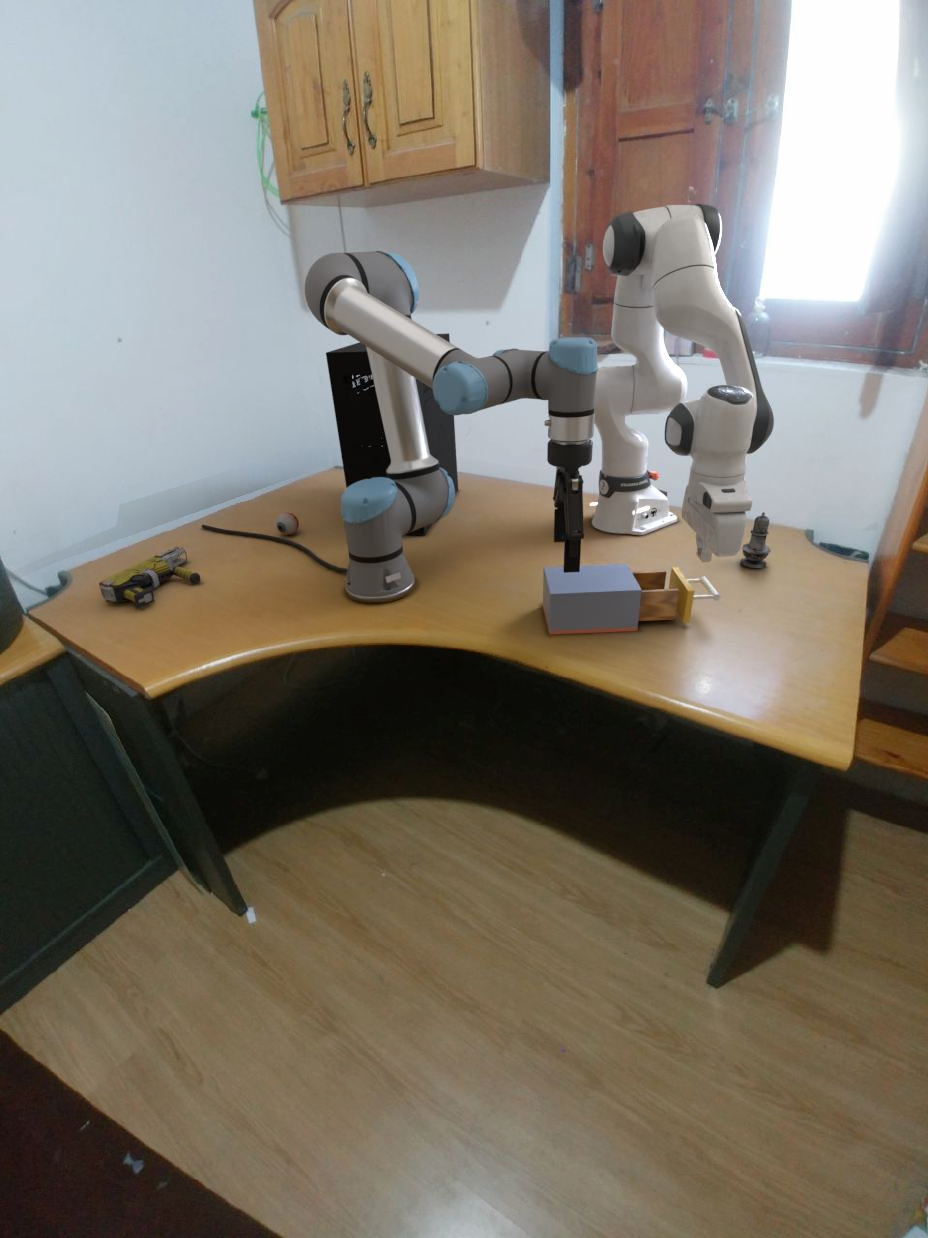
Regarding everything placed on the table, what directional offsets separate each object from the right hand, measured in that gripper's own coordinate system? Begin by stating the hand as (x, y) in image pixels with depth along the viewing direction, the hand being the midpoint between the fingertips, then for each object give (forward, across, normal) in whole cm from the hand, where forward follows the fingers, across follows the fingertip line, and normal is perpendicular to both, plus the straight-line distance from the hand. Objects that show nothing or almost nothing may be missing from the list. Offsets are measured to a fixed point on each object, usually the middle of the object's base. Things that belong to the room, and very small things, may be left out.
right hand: (703, 559), depth 112 cm
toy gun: (+12, -23, -115) cm, 118 cm away
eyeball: (+12, -52, -93) cm, 107 cm away
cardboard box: (+12, -67, -61) cm, 91 cm away
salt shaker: (+12, -21, +20) cm, 31 cm away
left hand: (-2, 0, -26) cm, 26 cm away
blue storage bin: (+12, 0, -21) cm, 24 cm away
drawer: (+11, 0, -8) cm, 13 cm away
